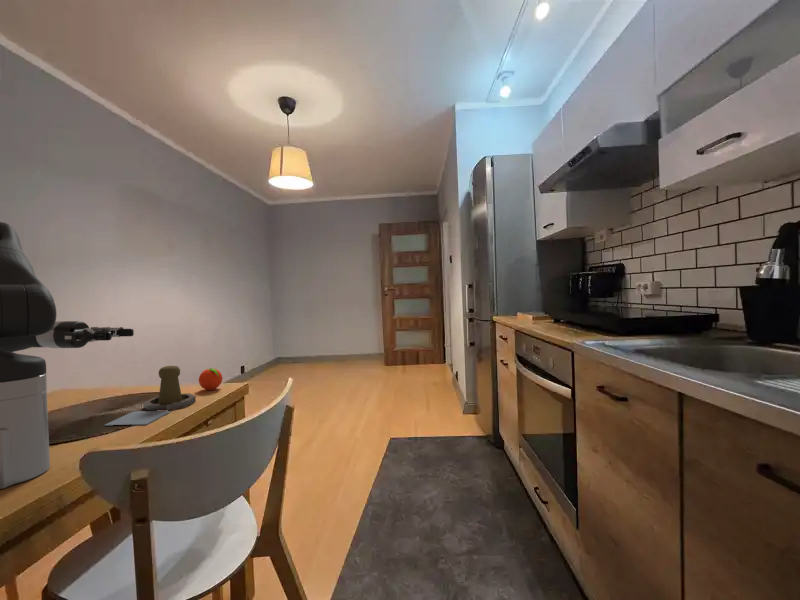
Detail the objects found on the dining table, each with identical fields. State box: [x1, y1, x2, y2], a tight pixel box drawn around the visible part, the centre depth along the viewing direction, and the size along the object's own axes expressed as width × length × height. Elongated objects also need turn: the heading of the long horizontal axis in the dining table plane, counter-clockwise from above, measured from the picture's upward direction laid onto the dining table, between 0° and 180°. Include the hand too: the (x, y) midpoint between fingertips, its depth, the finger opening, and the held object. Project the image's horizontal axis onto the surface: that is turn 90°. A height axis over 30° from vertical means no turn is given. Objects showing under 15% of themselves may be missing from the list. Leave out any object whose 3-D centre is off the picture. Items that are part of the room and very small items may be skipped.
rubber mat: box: [104, 410, 172, 427], centre depth 95 cm, size 10×10×1 cm
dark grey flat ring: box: [143, 392, 197, 411], centre depth 106 cm, size 12×12×2 cm
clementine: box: [198, 367, 223, 391], centre depth 122 cm, size 8×7×7 cm
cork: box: [158, 365, 183, 404], centre depth 106 cm, size 6×6×11 cm
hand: (122, 334), depth 105 cm, fingers open, 8 cm apart
